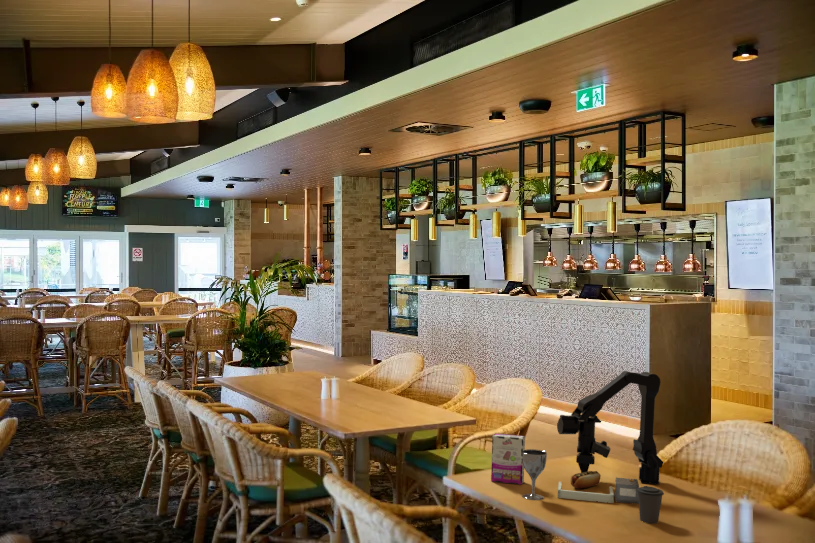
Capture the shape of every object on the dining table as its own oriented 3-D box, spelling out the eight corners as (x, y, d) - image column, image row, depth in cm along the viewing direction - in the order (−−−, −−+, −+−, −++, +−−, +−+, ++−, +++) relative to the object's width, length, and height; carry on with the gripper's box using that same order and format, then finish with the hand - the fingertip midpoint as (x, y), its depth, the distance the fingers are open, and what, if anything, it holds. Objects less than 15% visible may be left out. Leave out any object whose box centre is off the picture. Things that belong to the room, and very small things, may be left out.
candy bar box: (524, 481, 278) (525, 435, 277) (521, 485, 273) (523, 438, 273) (493, 478, 281) (494, 432, 281) (490, 481, 276) (492, 435, 276)
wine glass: (544, 494, 263) (545, 450, 262) (546, 501, 255) (547, 455, 255) (520, 492, 263) (522, 448, 263) (521, 499, 255) (523, 454, 255)
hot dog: (603, 486, 276) (604, 472, 275) (579, 491, 267) (579, 477, 267) (592, 482, 279) (592, 468, 279) (567, 488, 271) (568, 473, 271)
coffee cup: (641, 514, 244) (642, 482, 244) (667, 520, 239) (668, 488, 239) (630, 520, 238) (632, 487, 238) (656, 526, 233) (658, 493, 233)
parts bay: (612, 493, 266) (612, 486, 266) (613, 503, 255) (613, 495, 255) (558, 488, 270) (558, 481, 270) (557, 497, 259) (557, 490, 259)
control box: (637, 496, 263) (638, 478, 263) (639, 504, 255) (640, 485, 255) (614, 494, 265) (614, 476, 265) (615, 501, 257) (616, 482, 257)
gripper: (610, 442, 268) (608, 487, 269) (609, 431, 286) (607, 473, 287) (577, 439, 271) (575, 483, 271) (578, 428, 289) (576, 470, 289)
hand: (584, 477), depth 279 cm, fingers closed
